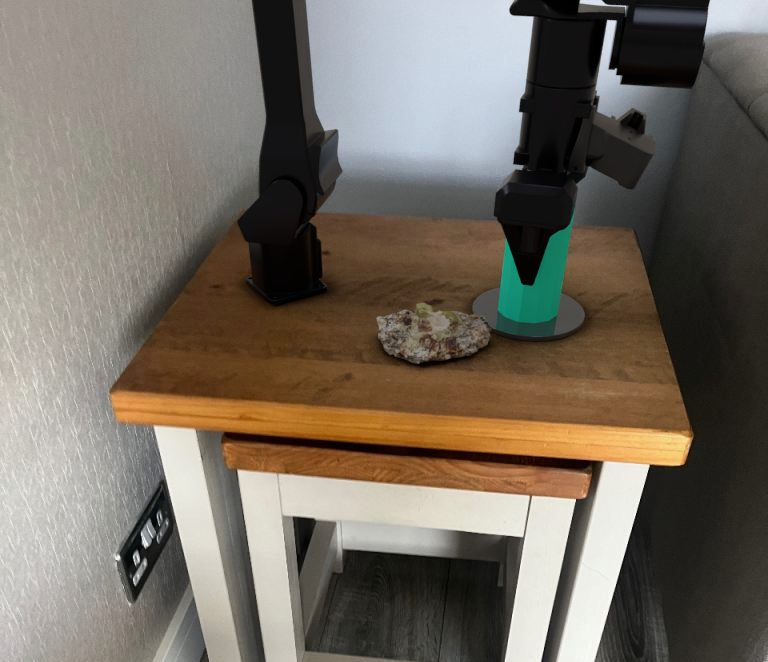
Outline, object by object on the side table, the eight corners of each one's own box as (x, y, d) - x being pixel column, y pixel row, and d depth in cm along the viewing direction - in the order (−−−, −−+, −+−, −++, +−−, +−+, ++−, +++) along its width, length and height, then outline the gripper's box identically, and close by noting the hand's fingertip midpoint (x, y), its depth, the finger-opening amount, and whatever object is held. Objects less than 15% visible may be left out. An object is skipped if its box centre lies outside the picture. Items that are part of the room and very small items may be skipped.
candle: (571, 312, 76) (593, 187, 69) (526, 329, 74) (544, 200, 66) (528, 290, 80) (545, 168, 72) (484, 305, 77) (497, 181, 70)
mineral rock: (376, 346, 67) (376, 283, 72) (374, 381, 71) (374, 319, 75) (499, 350, 68) (492, 287, 72) (491, 384, 71) (485, 322, 76)
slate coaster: (521, 352, 71) (522, 347, 71) (450, 306, 78) (450, 301, 78) (607, 322, 76) (608, 317, 76) (532, 281, 83) (533, 276, 83)
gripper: (658, 119, 55) (614, 321, 65) (666, 64, 69) (628, 238, 79) (503, 106, 58) (483, 302, 68) (540, 55, 71) (519, 225, 81)
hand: (535, 264), depth 74 cm, fingers open, 9 cm apart
